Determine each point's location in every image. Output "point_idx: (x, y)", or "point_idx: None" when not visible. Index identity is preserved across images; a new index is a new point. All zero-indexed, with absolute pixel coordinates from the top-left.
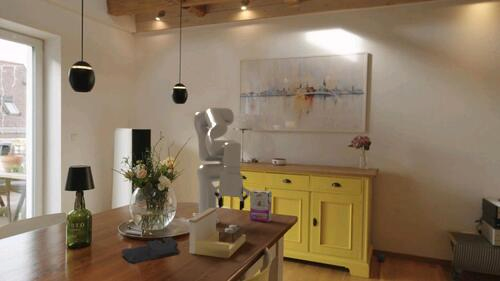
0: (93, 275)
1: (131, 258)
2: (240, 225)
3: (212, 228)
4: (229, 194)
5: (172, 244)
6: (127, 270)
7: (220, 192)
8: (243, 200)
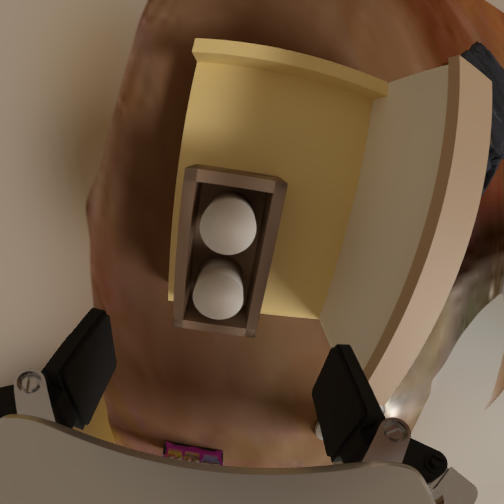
0: (493, 8)
1: (492, 55)
2: (183, 327)
3: (339, 297)
4: (194, 497)
5: None
6: (465, 8)
7: (412, 495)
8: (19, 373)
